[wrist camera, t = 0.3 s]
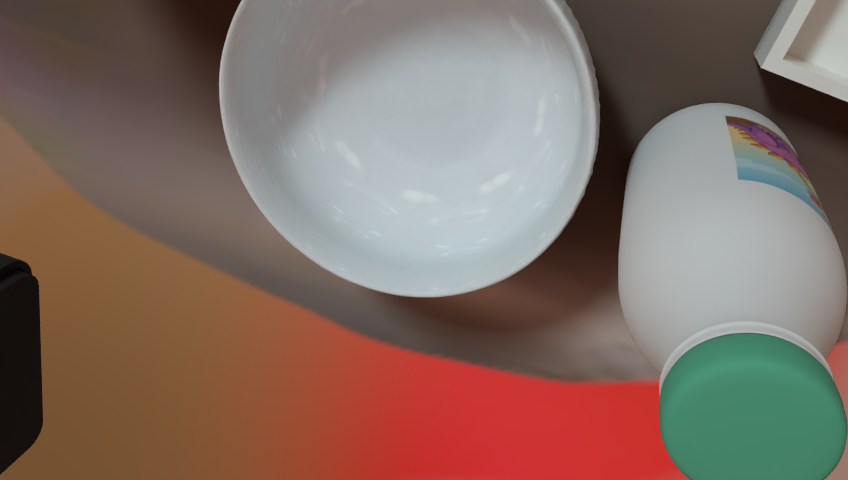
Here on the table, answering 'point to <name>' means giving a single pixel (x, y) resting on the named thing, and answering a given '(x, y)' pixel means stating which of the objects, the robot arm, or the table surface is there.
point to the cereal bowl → (412, 133)
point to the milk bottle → (734, 296)
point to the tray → (808, 45)
